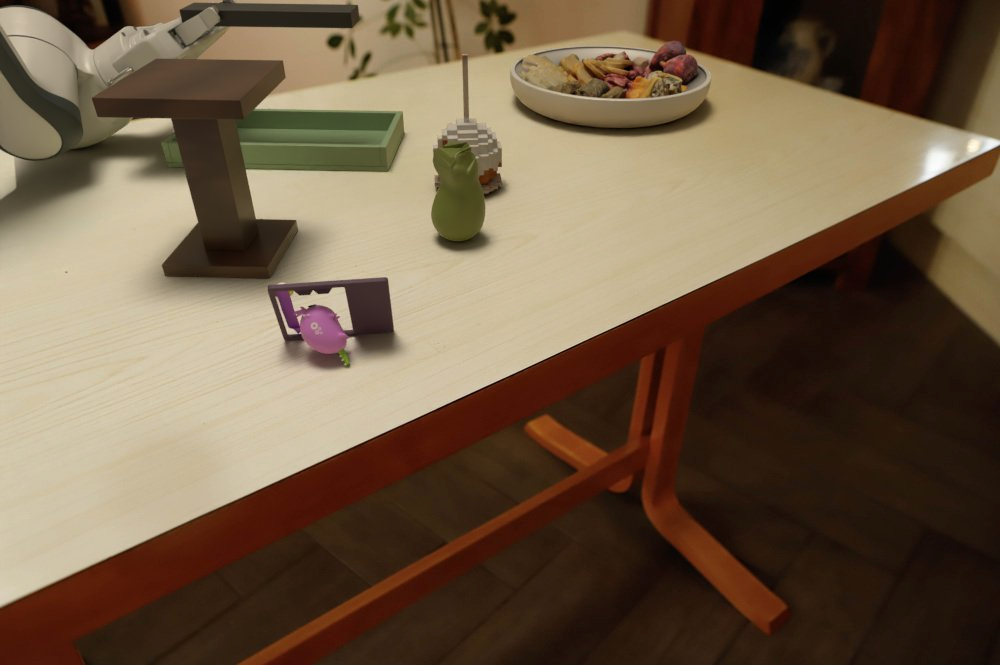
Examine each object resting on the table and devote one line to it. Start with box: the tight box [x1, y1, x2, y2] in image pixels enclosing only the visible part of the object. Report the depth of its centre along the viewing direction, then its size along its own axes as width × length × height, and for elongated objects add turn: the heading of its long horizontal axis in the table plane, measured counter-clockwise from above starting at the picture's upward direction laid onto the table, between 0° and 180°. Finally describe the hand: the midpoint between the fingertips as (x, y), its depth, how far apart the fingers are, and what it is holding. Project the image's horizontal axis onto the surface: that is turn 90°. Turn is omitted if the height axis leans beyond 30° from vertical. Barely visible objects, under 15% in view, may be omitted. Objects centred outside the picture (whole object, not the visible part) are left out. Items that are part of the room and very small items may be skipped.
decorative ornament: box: [432, 53, 503, 195], centre depth 81 cm, size 8×8×15 cm
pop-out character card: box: [267, 276, 395, 366], centre depth 56 cm, size 7×5×9 cm
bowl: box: [509, 40, 712, 129], centre depth 109 cm, size 30×30×8 cm
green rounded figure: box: [430, 141, 486, 242], centre depth 72 cm, size 6×5×10 cm
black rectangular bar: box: [178, 2, 360, 29], centre depth 85 cm, size 20×4×2 cm, turn 88°
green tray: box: [161, 108, 405, 172], centre depth 94 cm, size 28×14×3 cm, turn 88°
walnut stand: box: [92, 58, 299, 279], centre depth 67 cm, size 12×12×17 cm
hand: (226, 7), depth 85 cm, fingers closed on black rectangular bar, 4 cm apart
